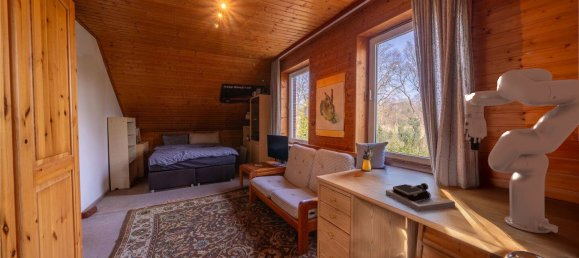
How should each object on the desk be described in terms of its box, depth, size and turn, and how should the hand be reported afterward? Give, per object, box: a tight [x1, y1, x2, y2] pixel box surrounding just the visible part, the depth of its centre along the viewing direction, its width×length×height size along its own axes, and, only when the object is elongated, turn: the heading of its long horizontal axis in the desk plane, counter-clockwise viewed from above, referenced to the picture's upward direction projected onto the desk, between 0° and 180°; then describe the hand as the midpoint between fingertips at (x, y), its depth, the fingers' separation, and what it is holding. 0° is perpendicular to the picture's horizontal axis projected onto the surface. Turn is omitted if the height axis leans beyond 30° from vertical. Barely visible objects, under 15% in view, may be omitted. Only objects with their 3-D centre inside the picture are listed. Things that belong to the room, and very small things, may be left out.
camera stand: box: [385, 188, 456, 212], centre depth 119 cm, size 26×21×2 cm
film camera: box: [392, 182, 432, 203], centre depth 122 cm, size 8×16×15 cm
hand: (474, 149), depth 115 cm, fingers closed
